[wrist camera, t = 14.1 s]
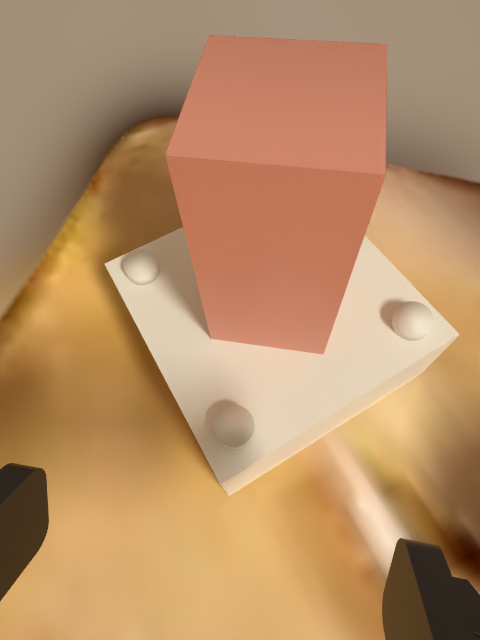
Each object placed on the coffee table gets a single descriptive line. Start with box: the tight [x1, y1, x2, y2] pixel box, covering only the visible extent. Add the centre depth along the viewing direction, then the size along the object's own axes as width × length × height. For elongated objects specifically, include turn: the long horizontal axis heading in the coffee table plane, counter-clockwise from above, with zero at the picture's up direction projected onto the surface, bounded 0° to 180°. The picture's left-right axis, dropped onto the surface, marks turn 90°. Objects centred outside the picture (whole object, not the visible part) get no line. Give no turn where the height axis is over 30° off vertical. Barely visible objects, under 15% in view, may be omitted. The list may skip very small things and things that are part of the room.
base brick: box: [105, 227, 459, 496], centre depth 21 cm, size 12×12×6 cm
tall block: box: [165, 35, 387, 355], centre depth 15 cm, size 5×5×10 cm
